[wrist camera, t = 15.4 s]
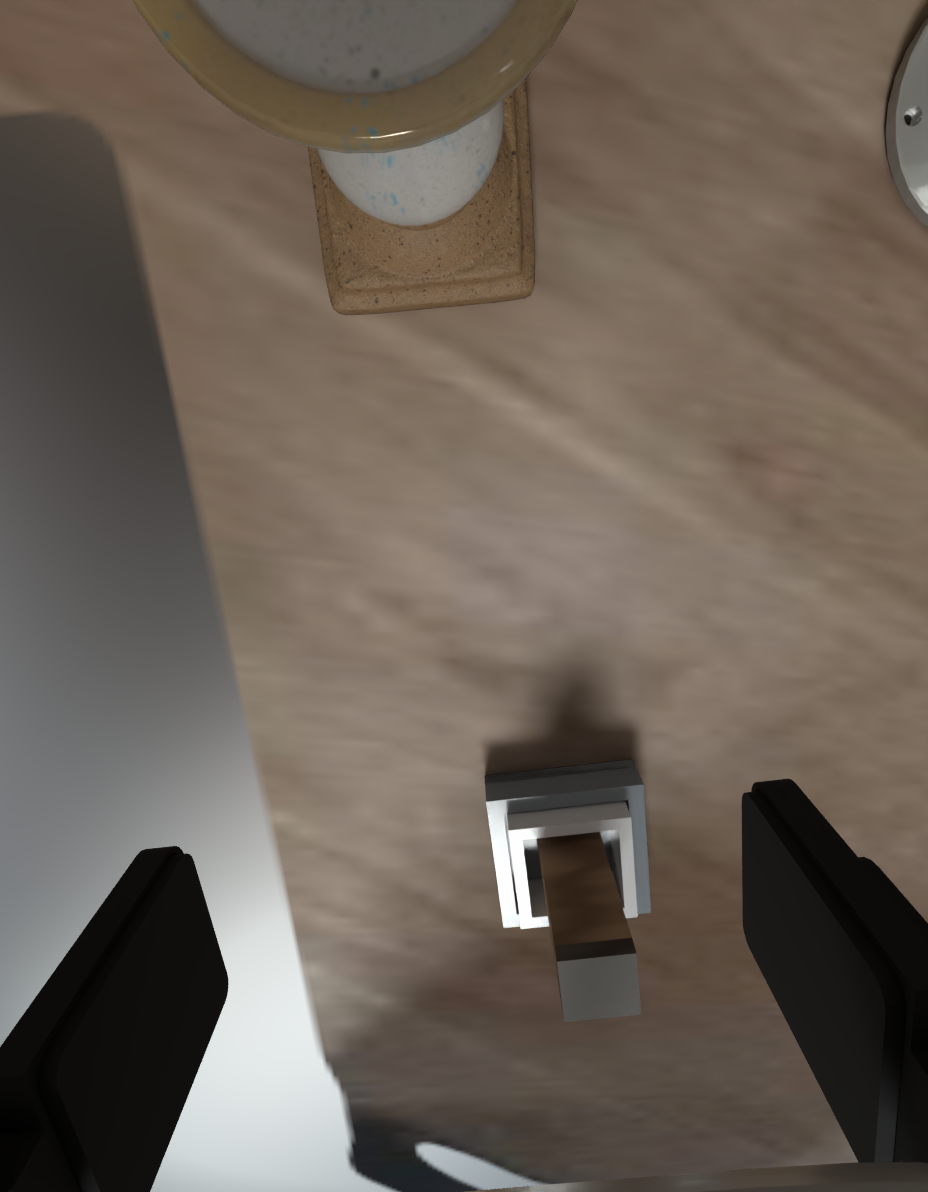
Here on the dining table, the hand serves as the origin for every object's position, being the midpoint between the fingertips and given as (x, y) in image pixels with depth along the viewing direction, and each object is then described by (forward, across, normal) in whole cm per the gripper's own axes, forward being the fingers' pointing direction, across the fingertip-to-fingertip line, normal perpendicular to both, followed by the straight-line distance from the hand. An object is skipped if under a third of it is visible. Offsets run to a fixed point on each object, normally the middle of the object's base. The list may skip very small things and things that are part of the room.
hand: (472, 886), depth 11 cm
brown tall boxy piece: (+29, -4, +22) cm, 37 cm away
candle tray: (+30, -4, +22) cm, 38 cm away
